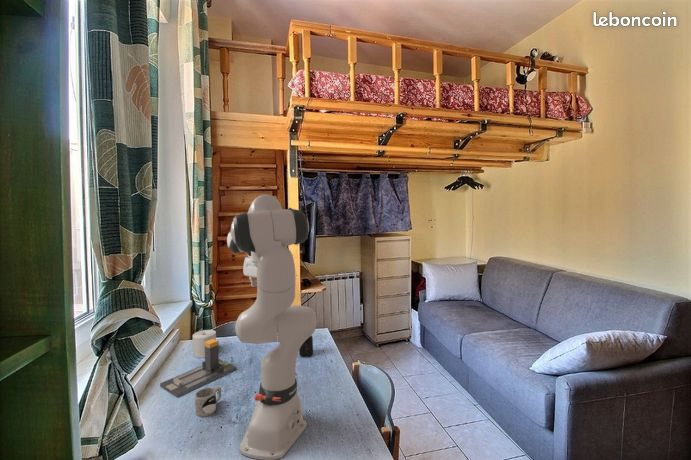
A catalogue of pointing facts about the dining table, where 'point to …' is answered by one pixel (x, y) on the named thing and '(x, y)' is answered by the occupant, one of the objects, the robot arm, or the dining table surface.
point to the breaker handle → (211, 354)
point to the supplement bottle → (307, 348)
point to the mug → (206, 401)
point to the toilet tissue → (201, 342)
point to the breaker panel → (195, 378)
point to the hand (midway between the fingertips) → (260, 287)
